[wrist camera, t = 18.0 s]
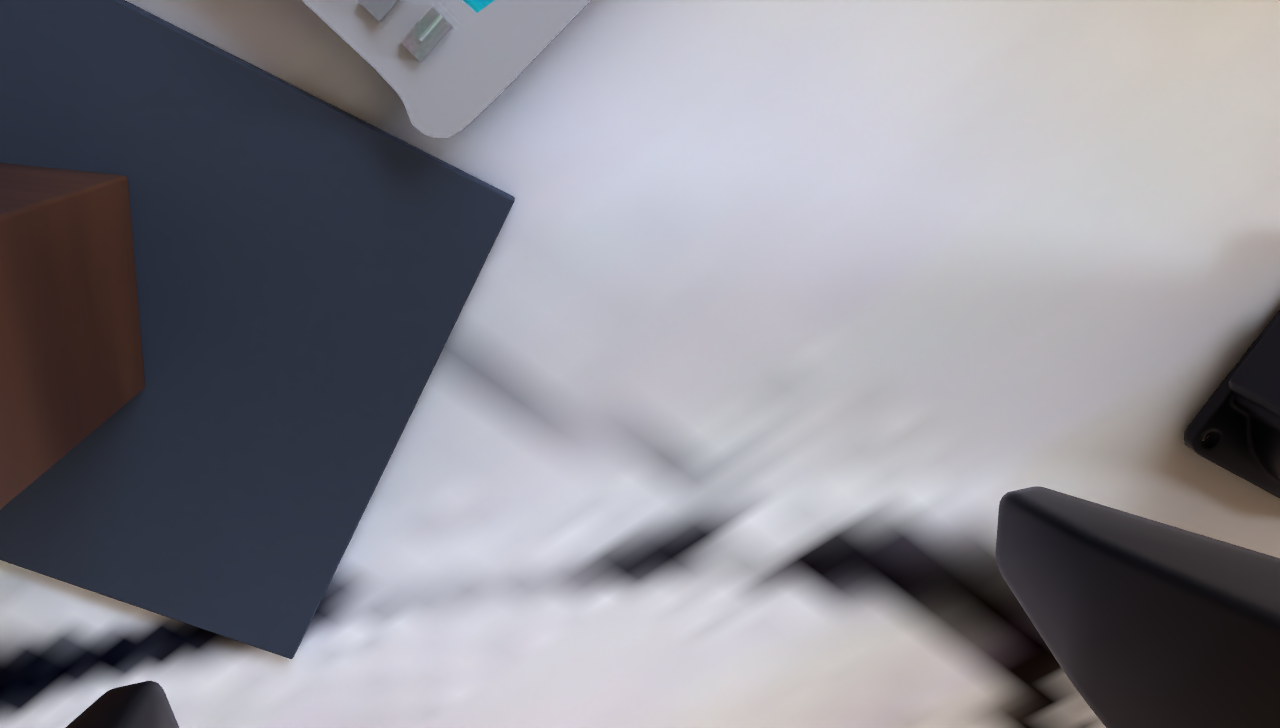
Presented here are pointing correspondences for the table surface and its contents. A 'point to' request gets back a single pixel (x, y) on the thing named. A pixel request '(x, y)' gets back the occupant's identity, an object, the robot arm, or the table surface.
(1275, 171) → the table surface
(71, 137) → the desk pad
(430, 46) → the office telephone
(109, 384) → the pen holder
